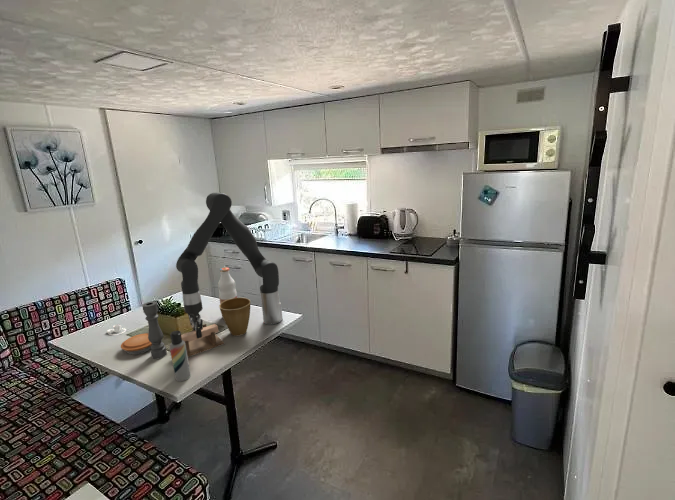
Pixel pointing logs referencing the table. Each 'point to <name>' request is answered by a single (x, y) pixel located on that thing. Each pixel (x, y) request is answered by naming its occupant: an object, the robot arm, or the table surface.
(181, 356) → the lotion bottle
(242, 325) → the plant pot
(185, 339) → the strip
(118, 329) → the teacup and saucer
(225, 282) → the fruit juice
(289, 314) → the table surface
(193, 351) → the rack
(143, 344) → the pie
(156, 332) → the candle holder
